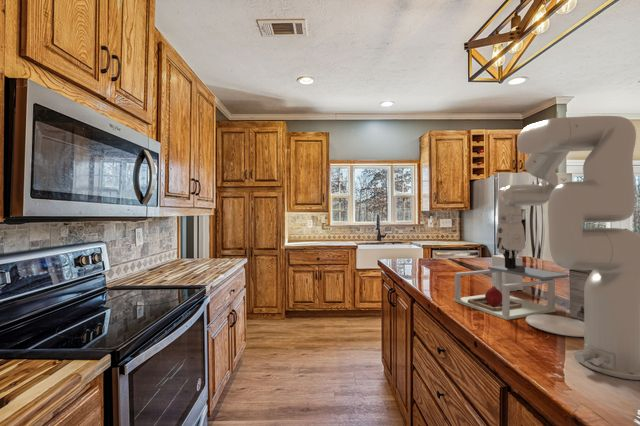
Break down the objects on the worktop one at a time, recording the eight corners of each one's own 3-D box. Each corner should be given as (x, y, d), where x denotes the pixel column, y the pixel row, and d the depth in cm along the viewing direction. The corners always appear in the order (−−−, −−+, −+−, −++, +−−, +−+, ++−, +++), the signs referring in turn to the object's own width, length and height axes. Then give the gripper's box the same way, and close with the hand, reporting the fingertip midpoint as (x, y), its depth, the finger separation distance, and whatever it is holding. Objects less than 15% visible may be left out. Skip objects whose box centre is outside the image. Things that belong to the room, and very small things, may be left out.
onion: (505, 310, 111) (505, 287, 111) (488, 309, 113) (488, 287, 113) (499, 305, 117) (499, 284, 117) (483, 304, 118) (483, 283, 118)
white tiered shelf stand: (506, 319, 101) (506, 285, 101) (453, 301, 123) (453, 272, 123) (556, 311, 110) (555, 279, 110) (498, 295, 131) (498, 268, 131)
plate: (571, 342, 84) (571, 338, 84) (513, 321, 100) (513, 318, 100) (610, 333, 90) (610, 329, 90) (549, 315, 106) (549, 311, 106)
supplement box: (523, 290, 138) (523, 257, 138) (505, 291, 137) (505, 257, 137) (508, 286, 147) (508, 254, 147) (491, 286, 146) (491, 255, 146)
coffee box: (588, 313, 107) (588, 267, 107) (610, 320, 101) (610, 270, 101) (568, 316, 105) (568, 268, 104) (589, 322, 98) (589, 272, 98)
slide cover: (543, 280, 108) (543, 270, 108) (488, 269, 129) (487, 260, 129) (568, 277, 112) (567, 267, 112) (510, 267, 133) (510, 258, 133)
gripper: (504, 220, 111) (504, 271, 111) (533, 219, 116) (533, 268, 116) (486, 219, 118) (486, 268, 118) (514, 219, 123) (515, 265, 123)
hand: (510, 268), depth 117 cm, fingers closed
